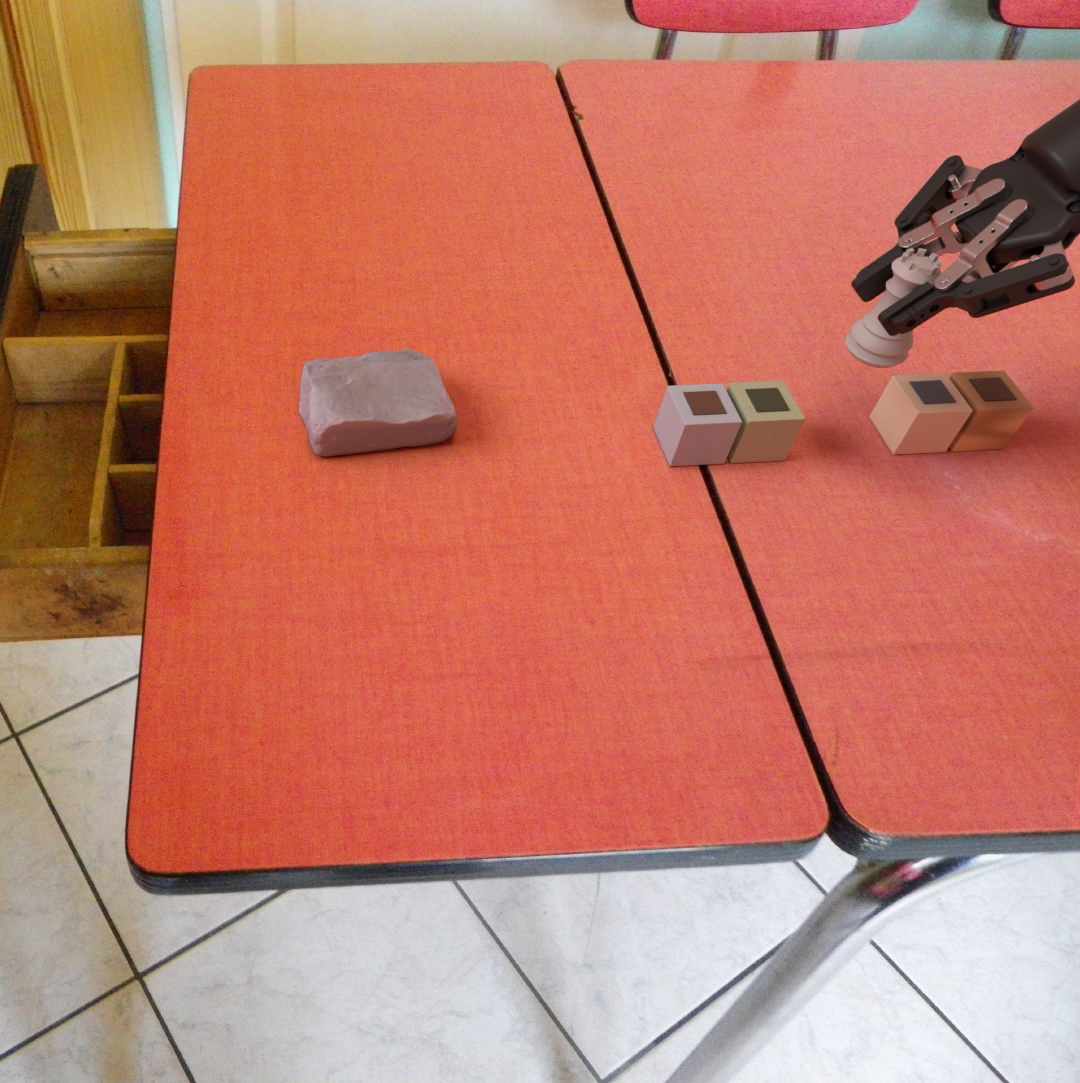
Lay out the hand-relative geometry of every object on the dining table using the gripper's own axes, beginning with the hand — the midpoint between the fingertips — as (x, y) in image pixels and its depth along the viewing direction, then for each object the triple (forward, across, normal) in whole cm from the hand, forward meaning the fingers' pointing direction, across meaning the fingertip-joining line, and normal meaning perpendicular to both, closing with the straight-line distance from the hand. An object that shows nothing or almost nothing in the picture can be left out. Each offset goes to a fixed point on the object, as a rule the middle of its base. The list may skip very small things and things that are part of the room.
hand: (871, 309), depth 70 cm
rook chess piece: (+2, 0, +4) cm, 5 cm away
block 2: (+12, -1, +6) cm, 14 cm away
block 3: (+3, 0, +16) cm, 16 cm away
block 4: (-1, 0, +19) cm, 19 cm away
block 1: (+16, -1, +2) cm, 16 cm away
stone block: (+33, -8, -15) cm, 37 cm away
